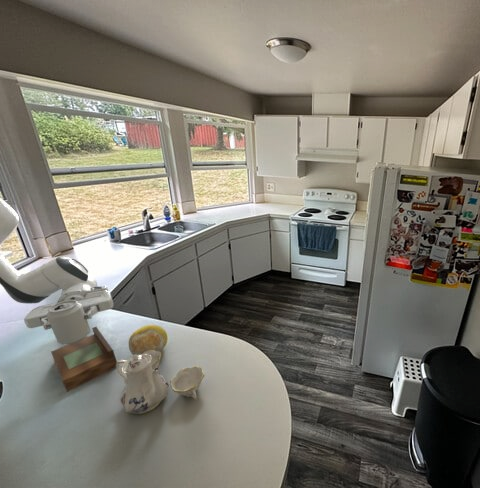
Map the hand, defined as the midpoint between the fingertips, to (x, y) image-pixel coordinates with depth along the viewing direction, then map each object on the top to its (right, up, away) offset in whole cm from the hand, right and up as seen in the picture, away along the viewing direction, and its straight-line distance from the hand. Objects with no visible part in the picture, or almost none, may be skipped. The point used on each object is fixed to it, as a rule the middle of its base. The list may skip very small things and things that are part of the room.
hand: (68, 322), depth 75 cm
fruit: (+17, -15, +12) cm, 25 cm away
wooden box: (-1, -16, +6) cm, 17 cm away
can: (-1, -6, +3) cm, 7 cm away
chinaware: (+29, -20, -2) cm, 35 cm away
